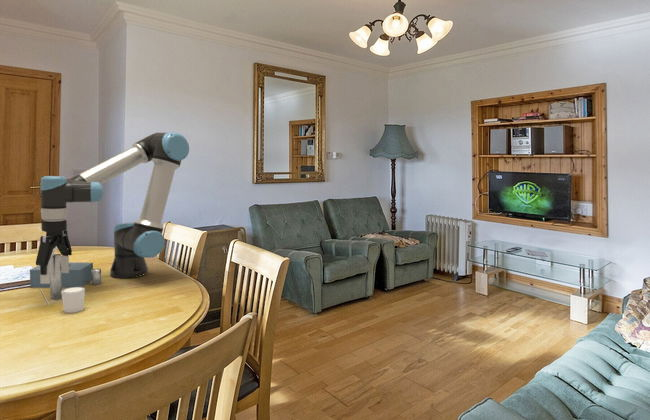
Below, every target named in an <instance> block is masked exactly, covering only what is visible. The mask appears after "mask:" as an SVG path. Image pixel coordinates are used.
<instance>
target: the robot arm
mask: <svg viewBox="0 0 650 420" xmlns="http://www.w3.org/2000/svg"><path fill="white" fill-rule="evenodd" d="M189 153H190V144H189V142H188V140H187V138H186V137H185V136H184V135H182V134H181V133H179V132H174V131H169V132H155V133H152V134H150V135H148V136H146V137H143V138H142V139H140V140H138V141H136V142H134V143H133V144H132V147H129V148H128V149H126V150H124V151H122V152H120V153H118V154H117V155H115V156H111V158H108V159H106V160H104V161H102V162H100V163H98V164H96V165H94V166H92V167H90V168H88V169H86V170H84V171H82V172H80V173H79V174H77V175H75V176H73V177H71V178H67V179H66V177H65V176H62V175H61V176H60V175H59V176H56V175H46V176H42V177H41V178H40V188H39V190H40V204H41V205H40V206H41V207H40V213H41V216H40V217H41V222H40V223H41V226H40V227H41V231H42V232H43V233H44V232H45V233H46V234H45V235H41V236H40V241H39V246H38V251H37V255H36V259H35V265H36V266H39V265H40V284H49V283H50V265H48V263H49V260H50V257H51V254H52V252H53V249H54V248H55V247H56V249H57V250H58V251H59V254H61V269H62V273H69V262H70V260H69V259H70V258H69V256H72V255H73V254H72V253H73V250H72V247H71V241H70V240H69V236H68V230H67V228H68V227H67V225H68V223H67V220H66V219H67V217H68V215H67V214H68V213H67V204H68V203H69V204H70V203H71V204H72V203H93V202H94V203H96V202H100V201H101V200H102V199H103V195H104V190H103V184H105V183H106V182H108V181H111V180H112V179H114V178H116V177H118V176H120V175H122V174H124V173H125V172H127V171H129V170H131V169H133V168H135V167H137V166H138V165H140V164H142V163H143V164H148V163H149V162H151V161H152V162H153V167H152V171H151V175H150V180H149V183H148V187H147V190H146V194H145V198H144V200H143V201H144V202H143V205H142V209H141V213H140V216H139V218H138V219H137V220H135V221H134V222H124V223H123V222H121V223H117V224H115V225H114V227H113V228H114V229H113V243H114V245H113V246H114V258H113V261H112V264H111V267H110V273H109V274H110V277H112V278H115V277H116V278H117V279H130V278H129V277H134V278H137V277H136V276H140V275H143V274H145V273H147V272H148V273H149V267H148V265H147V261H146V259H151V258H154V257H156V256H158V255H159V254H160V253H161V252H162V251H163V250H164V248H165V245H166V244H165V243H166V242H165V241H166V240H165V238H164V235H163V231H164V226H163V225H162V220H163V218H164V217H163V216H164V213H165V209H166V206H167V201H168V197H169V194H170V192H171V191H170V190H171V186H172V182H173V179H174V176H175V171H176V170H177V169H179V168H181V164H182V161H183V160H184V159H186V158H187V157H188V156H189ZM145 258H146V259H145ZM148 273H147V274H148ZM143 276H144V275H143ZM140 277H141V276H140Z"/></svg>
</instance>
